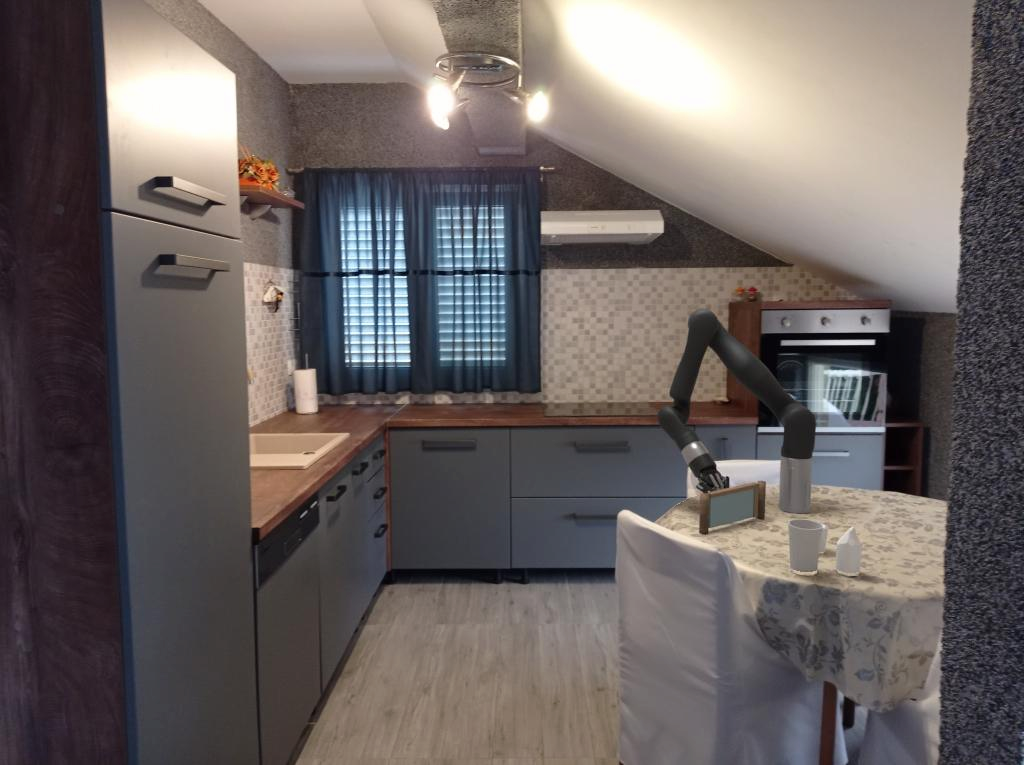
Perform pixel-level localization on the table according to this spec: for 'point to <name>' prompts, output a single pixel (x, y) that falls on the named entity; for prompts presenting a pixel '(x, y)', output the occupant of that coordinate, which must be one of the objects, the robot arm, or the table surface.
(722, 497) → the gate
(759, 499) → the gate posts
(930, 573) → the table surface
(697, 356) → the robot arm
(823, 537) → the shot glass
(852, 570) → the white pointed prism
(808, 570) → the cup
